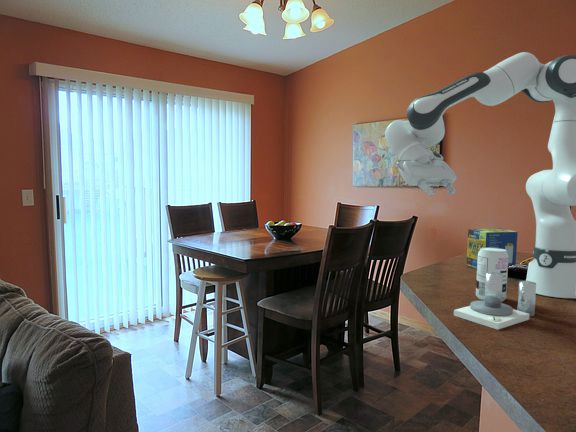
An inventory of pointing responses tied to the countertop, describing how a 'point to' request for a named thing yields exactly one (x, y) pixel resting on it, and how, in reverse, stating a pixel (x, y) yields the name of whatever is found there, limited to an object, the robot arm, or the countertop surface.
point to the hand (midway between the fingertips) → (442, 193)
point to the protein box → (491, 243)
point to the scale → (491, 315)
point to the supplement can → (491, 269)
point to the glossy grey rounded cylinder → (493, 290)
